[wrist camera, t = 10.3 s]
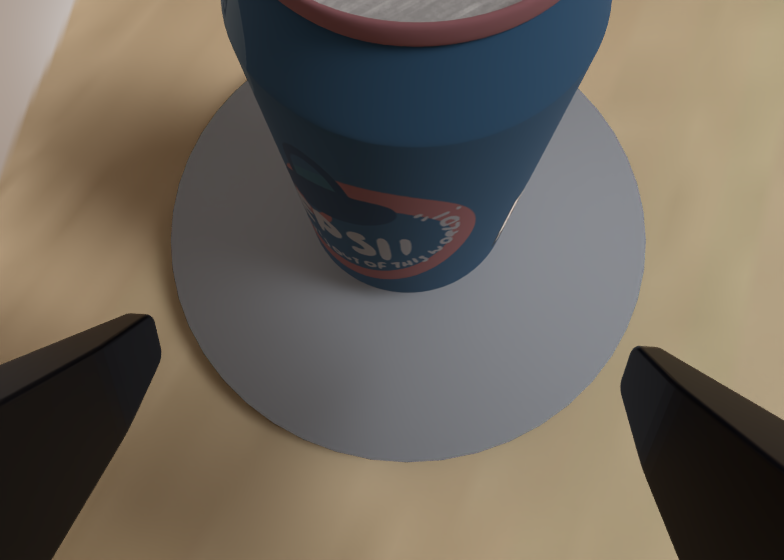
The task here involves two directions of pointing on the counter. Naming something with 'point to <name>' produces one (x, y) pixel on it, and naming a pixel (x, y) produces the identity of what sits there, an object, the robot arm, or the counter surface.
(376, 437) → the rubber mat
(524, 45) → the soda can
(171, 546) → the counter surface
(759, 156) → the counter surface
